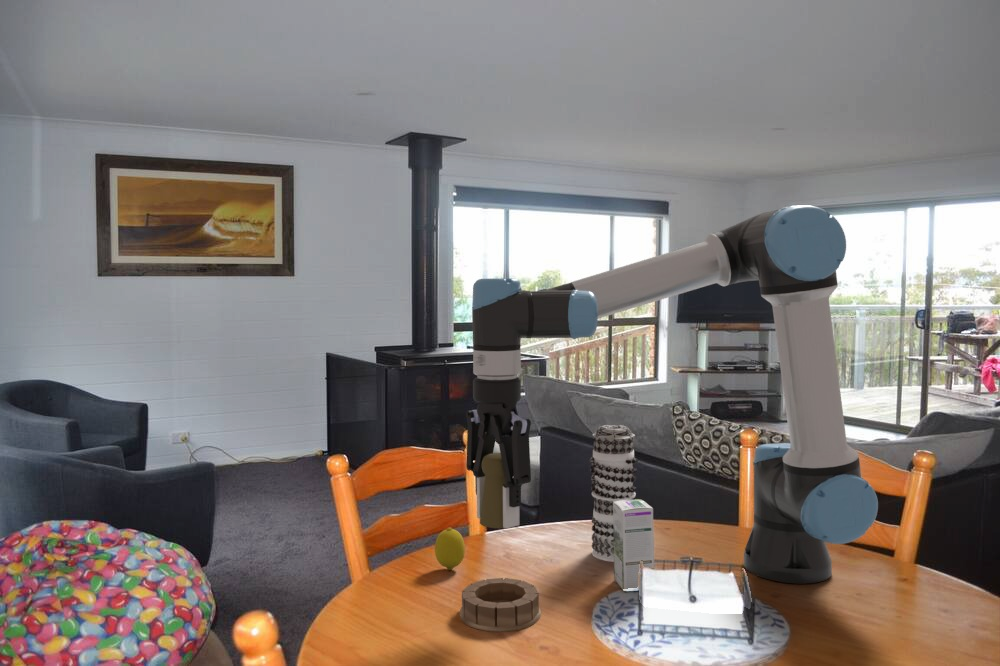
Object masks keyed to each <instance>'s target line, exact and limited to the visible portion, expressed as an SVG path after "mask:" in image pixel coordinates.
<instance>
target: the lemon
mask: <svg viewBox="0 0 1000 666" xmlns="http://www.w3.org/2000/svg"><path fill="white" fill-rule="evenodd" d="M434 544H435V545H434V553H435V554H434V555H435V557H436V560H437V562H438V563H439V564H440V565H441V567H444V568H446V569H448V571H452V570H453V569H454V568H455V567H457V566H459V565H460V564H461V563H462V562H463V560H464V557H465V552H466V546H465V541H464V537H463V536H462V534H461V533H460V532H459V531H458V530H456V529H454V528H452V527H447V528H446V529H443V530H442V531H441V532H440V533H439V534H438V535H437V536H436V539H435V543H434Z"/></svg>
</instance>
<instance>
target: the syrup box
mask: <svg viewBox="0 0 1000 666" xmlns="http://www.w3.org/2000/svg"><path fill="white" fill-rule="evenodd" d="M613 534H614V562H613V576H614V578H613V579H614V582H615V583H616V584H617V585H618V587H619V588H621V590H622V589H628V588H637V587H638V572H639V564H640V561H641V560H643V566H644V567H649V568H654V569H655V539H654V537H655V536H654V534H655V533H654V508H653V507H652V506H651V505H649V504H648V503H647V502H646V501H644V500H643V499H641V498H640V499H639V498H637V499H636V498H635V499H634V498H633V499H628V500H620V501H613Z"/></svg>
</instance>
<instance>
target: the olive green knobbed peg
mask: <svg viewBox="0 0 1000 666" xmlns="http://www.w3.org/2000/svg"><path fill="white" fill-rule="evenodd" d="M482 471H483V473H484V474H485V482H484V490H483V499H482V508H481V516H480V518H479V524H480V525H481V526H483V527H486V528H491V529H504V528H503V484H506V479H505V473H504V468H503V463H502V458H501V453H500V452H493V453H491V454H487V455H486V456H484V458H483V460H482Z"/></svg>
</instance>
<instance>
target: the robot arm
mask: <svg viewBox="0 0 1000 666" xmlns="http://www.w3.org/2000/svg"><path fill="white" fill-rule="evenodd" d="M846 251H847V239H846V234H845V232H844V229H843V227H842V225H841V223H839V221H838V219H837V218H836V217H835V216H834V215H832V214H830V213H829V212H828V211H826V210H825V209H823V208H821V207H818V206H813V205H802V204H801V205H791V206H786V207H782V208H779V209H776V210H772V211H767V212H762V213H759V214H756V215H754V216H751V217H749V218H747V219H745V220H743V221H741V222H739V223H736V224H734V225H731V226H729V227H727V228H724V229H721V230H718V231H716V232H712V233H709V234H707V236H706V238H705V239H704V241H702V242H699V243H695V244H693V245H690V246H689V245H688V246H686V247H683V248H680V249H676V250H672V251H669V252H665V253H662V254H659V255H657V256H652V257H649V258H646V259H643V260H639V261H636V262H633V263H629V264H626V265H624V266H620V267H616V268H614V269H611V270H610V269H609V270H606V271H603V272H601V273H600V272H599V273H596V274H593V275H590V276H587V277H583V278H581V279H577V280H573V281H570V282H568V283H564V284H560V285H557V286H555V287H551V288H548V289H547V288H542V289H539V290H533V291H531V290H526V289H525V290H523V289H522V286H521V281H520V280H519V279H518V278H516V277H515V278H514V277H513V278H479V279H477V280H476V281H475V282H474V283H473V285H472V286H473V287H472V305H471V311H472V312H471V316H472V317H471V319H472V320H471V321H472V324H471V325H472V352H473V353H472V354H473V359H472V360H473V361H472V362H473V364H472V367H473V368H472V369H473V371H472V373H473V375H475V376H477V377H474V379H473V380H472V395H473V396H472V398H473V401H474V402H476V403H478V404H477V408H476V409H472V410H466V411H465V417H466V423H467V432H466V433H467V436H466V439H467V440H466V466H465V467H466V470H468V471H469V472H470V471H471V472H472V473H473V474H472V475H473V476H474V477H475V480H474V481H475V482H474V483H475V495H476V518H477V519H480V516H481V508H482V499H483V490H484V482H485V474H484V473H483V471H482V460H483V458H484V456H486V455H487V454H491V453H494V449H495V446H496V444H497V445H498V446H499V453H501V458H502V463H503V468H504V473H505V479H506V484H503V528H502V529H510V528H513V527H517V526H518V527H519V526H520V507H521V504H522V486H523V485H525V484H528V483H531V481H532V473H531V471H532V470H531V452H530V451H531V449H530V430H531V425H532V423H531V419H529V418H525V419H523V418H522V417H520V416H519V412H518V409H517V403H518V402H519V401H521V399H522V390H521V389H522V388H521V387H522V385H521V384H522V381H521V379H520V377H518V375H520V374H521V373H522V355H521V352H522V351H521V350H522V349H521V340H522V339H572V340H576V339H579V338H590V337H592V336H594V335H595V333H596V331H597V327H598V319H601V318H604V317H608V316H611V315H614V314H617V313H621V312H624V311H628V310H631V309H634V308H639V307H641V306H645V305H648V304H651V303H655V302H658V301H662V300H664V299H665V300H666V299H668V298H671V297H674V296H678V295H680V294H685V293H687V292H690V291H695V290H697V289H700V288H704V287H707V286H711V285H714V284H717V285H719V286H722V287H726V286H730V285H733V284H734V285H735V284H738V283H742V282H752V281H758V283H759V290H760V296H761V297H762V298H763V299H764V300H765V301H767V302H768V303H770V305H771V306H772V307H771V308H772V313H773V322H774V329H775V330H774V331H775V336H776V343H777V345H776V346H777V352H778V359H779V361H778V362H779V368H780V375H781V376H780V377H781V383H782V389H783V391H782V392H783V397H784V398H783V399H784V405H785V414H786V420H787V430H788V436H789V442H784V443H783V442H781V443H777V442H776V443H763V444H760V445H758V446H757V447H756V448H755V449H754V458H753V462H752V465H753V525H752V529H751V531H750V534H749V537H748V540H747V542H746V545H745V547H744V551H743V567H744V568H745V569H746V571H748V572H750V574H752V575H755V576H757V577H760V578H763V579H766V580H768V581H769V580H770V581H773V582H774V581H775V582H778V583H779V582H780V583H786V584H799V585H800V584H802V585H805V584H815V583H820V582H824V581H826V580H828V579H829V578H831V576H832V568H833V567H832V566H833V565H832V563H833V562H832V557H831V556H830V552H829V549H828V546H827V543H828V544H831V545H832V544H833V545H842V544H849V543H852V542H854V541H857V540H858V539H859V538H861V537H863V536H864V535H865V534H866V532H867V531H868V530H869V528H872V526H873V524H874V522H875V521H876V518H877V516H878V510H879V501H878V496H877V494H876V491H875V489H874V488H873V487H872V485H871V484H870V483H869V482H868V480H866V479H865V478H864V477H862V471H861V464H860V462H861V461H860V456H859V452H858V451H856V449H854V448H853V447H851V446H850V445H849V444H848V442H847V436H846V435H847V434H846V426H845V418H844V412H843V410H844V409H843V402H842V396H841V395H842V393H841V385H840V378H839V377H840V376H839V371H838V361H837V355H836V353H837V352H836V347H835V337H834V330H833V322H832V313H831V305H830V297H831V295H833V293H834V291H835V290H836V289H837V288H838V278H837V276H838V275H837V270H838V269H839V267H840V265H841V263H842V262H843V261H844V259H845V256H846Z"/></svg>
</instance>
